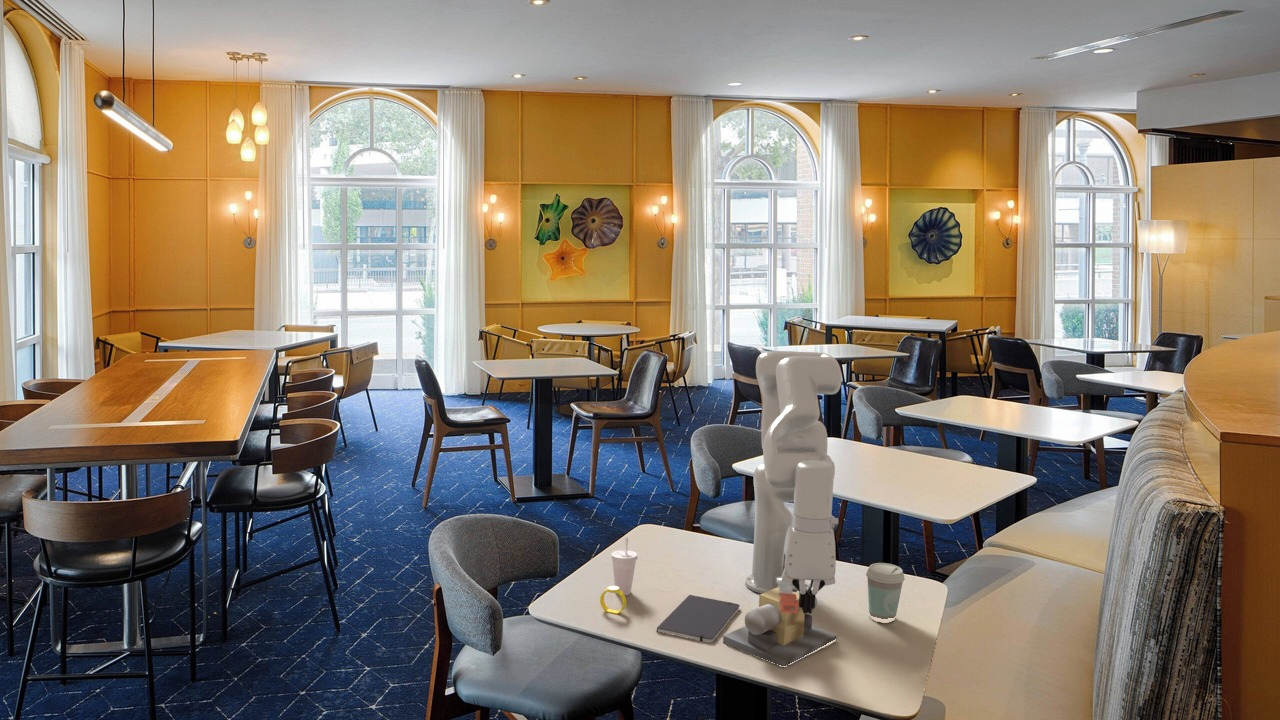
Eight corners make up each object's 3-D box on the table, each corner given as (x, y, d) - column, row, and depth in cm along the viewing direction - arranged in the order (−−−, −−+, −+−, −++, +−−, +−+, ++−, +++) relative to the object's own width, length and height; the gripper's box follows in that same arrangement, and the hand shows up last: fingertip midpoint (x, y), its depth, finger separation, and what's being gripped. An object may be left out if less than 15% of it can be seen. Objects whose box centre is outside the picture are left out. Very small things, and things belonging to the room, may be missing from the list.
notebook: (689, 600, 223) (656, 634, 204) (689, 594, 223) (656, 627, 204) (740, 610, 219) (711, 646, 199) (740, 604, 218) (712, 639, 199)
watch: (599, 613, 214) (598, 588, 213) (604, 609, 216) (603, 584, 216) (623, 616, 211) (622, 591, 211) (627, 612, 214) (627, 586, 213)
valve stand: (776, 618, 213) (779, 566, 212) (836, 641, 202) (839, 586, 200) (723, 642, 200) (725, 586, 198) (783, 668, 189) (787, 609, 187)
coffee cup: (880, 628, 210) (884, 577, 208) (855, 614, 217) (858, 564, 216) (909, 622, 214) (913, 572, 212) (883, 608, 221) (887, 560, 220)
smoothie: (625, 599, 221) (627, 542, 219) (604, 592, 225) (606, 536, 223) (641, 592, 226) (643, 536, 224) (620, 585, 230) (622, 530, 228)
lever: (775, 583, 201) (775, 574, 201) (789, 584, 201) (790, 575, 200) (781, 612, 186) (782, 602, 185) (797, 613, 185) (798, 603, 185)
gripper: (845, 518, 190) (839, 605, 192) (771, 516, 190) (767, 602, 192) (853, 530, 182) (847, 619, 185) (776, 527, 182) (771, 617, 185)
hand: (806, 610), depth 188 cm, fingers closed
